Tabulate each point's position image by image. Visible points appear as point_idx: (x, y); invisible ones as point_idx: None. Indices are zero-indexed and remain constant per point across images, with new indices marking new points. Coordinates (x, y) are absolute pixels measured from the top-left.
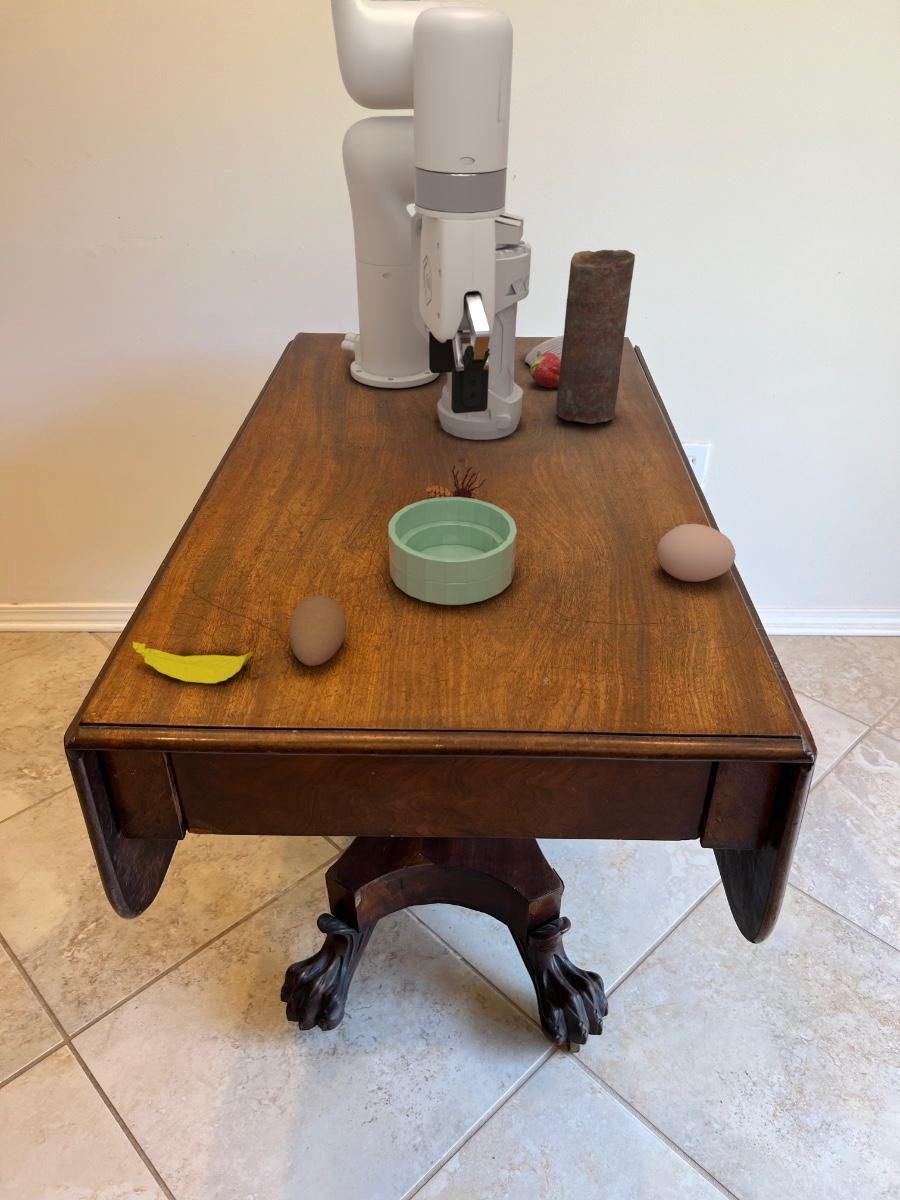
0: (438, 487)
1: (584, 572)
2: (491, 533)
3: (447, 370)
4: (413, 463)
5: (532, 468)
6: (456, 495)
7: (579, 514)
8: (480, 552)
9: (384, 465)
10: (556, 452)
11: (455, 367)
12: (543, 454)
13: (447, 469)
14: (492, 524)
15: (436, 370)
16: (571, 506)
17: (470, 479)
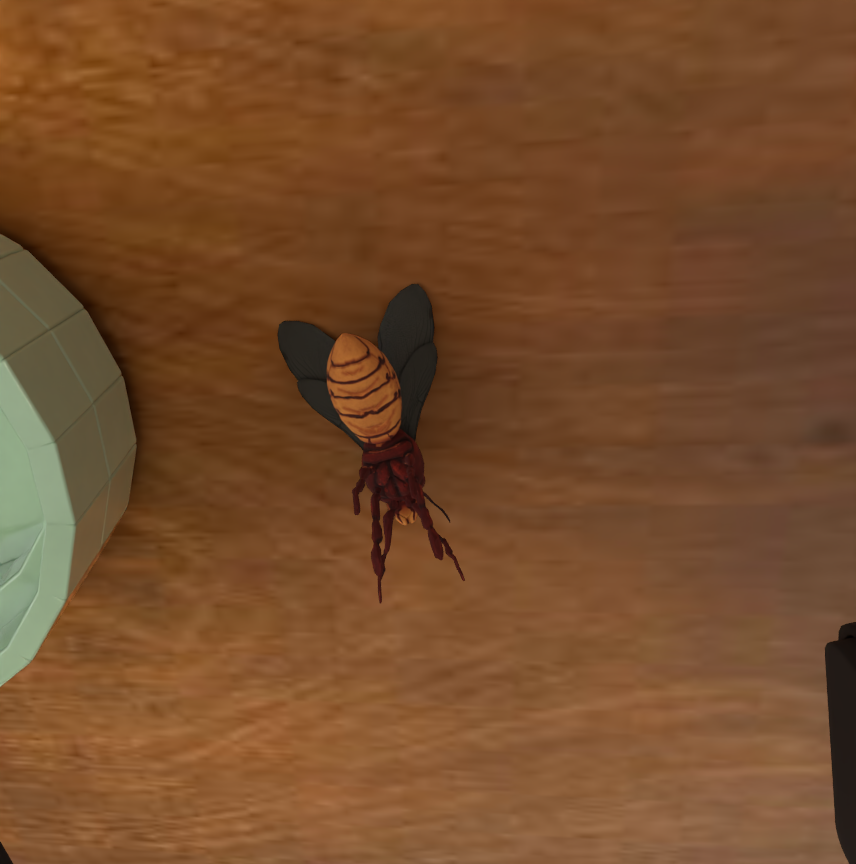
0: (362, 392)
1: (27, 791)
2: (2, 599)
3: (838, 759)
4: (840, 225)
5: (728, 679)
6: (365, 454)
7: (385, 797)
8: (40, 520)
9: (841, 80)
10: None
11: (853, 834)
12: None
13: (759, 378)
14: (21, 615)
15: (833, 682)
16: (438, 779)
17: (375, 541)
